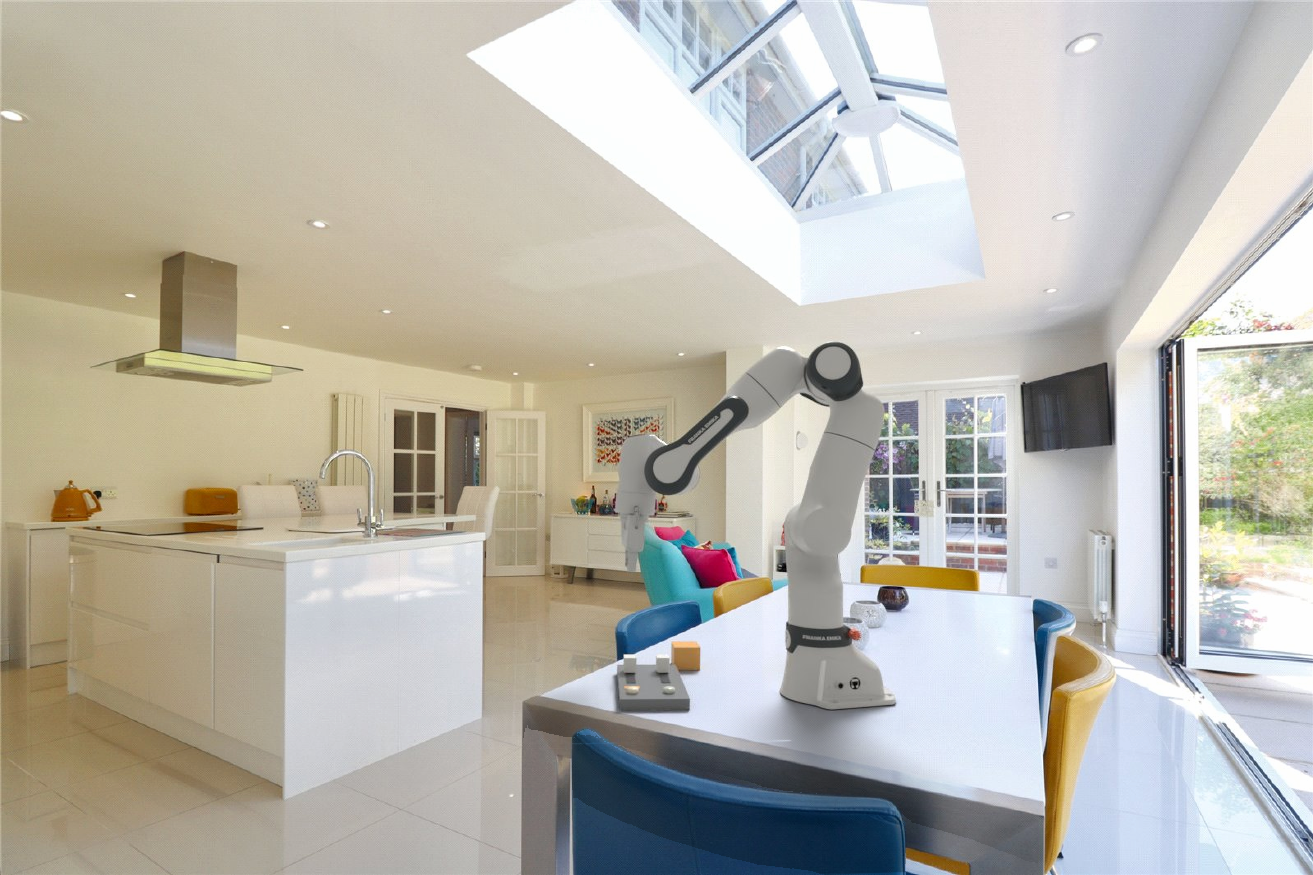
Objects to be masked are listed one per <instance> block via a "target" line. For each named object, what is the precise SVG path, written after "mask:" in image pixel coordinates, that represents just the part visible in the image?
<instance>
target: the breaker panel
mask: <svg viewBox="0 0 1313 875" xmlns="http://www.w3.org/2000/svg"><path fill="white" fill-rule="evenodd" d="M616 667H617V669H616V670H617V671H616V676H617V691H618V702H619V711H690V710H691V709H690V708H691V698H690V695H689V694H688V691H687V689H686V686H685V684H684V681H683V679H682V677H681V674H680V672H679V671H680V670H678V669H677V667H676V664H669V673H657V671H656V664H636V673H624V670H623V664H616Z"/></svg>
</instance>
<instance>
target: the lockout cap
mask: <svg viewBox="0 0 1313 875" xmlns="http://www.w3.org/2000/svg"><path fill="white" fill-rule="evenodd" d="M670 648H671V650H670V651H671V652H670V653H671V656H670V658H671V659H670V661H671V662H670V663H671V664H670V665H672V664H676V667H677V669H678V671H701V647H700V645H699V643H698V641H696V640H695V641H685V640H684V641H683V640H682V641H671V647H670Z"/></svg>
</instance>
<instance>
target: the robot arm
mask: <svg viewBox="0 0 1313 875" xmlns="http://www.w3.org/2000/svg"><path fill="white" fill-rule="evenodd" d="M860 363H861V362H860V360H859V358H858V355H857V353H856V352H855V350H854V349H853V348H852V347H851V346H849V345H848V344H846V343H844V342H840V341H827V342H823V343H822V344H820V345H818V346H816V348H814V349H813V351H812V352H811V353H810V355H809V356H808V357H805V356H802V355H801V354H800V353H799V352H798V351H796V350H795V349H793V348H791V347H788V346H779V347H776V348H775V349H773V350H771V351H769V352H768V353H766V354H765V355H764V356H763V357H761V358H760V359H758V360H757V361H756V362H755V363H754V364H752V366H750V367H749V368H748V369H747V370H746V371H745V372H744V373H743V374H742V375H740V377H738V379H737V380H736V381H734V383H733V384H732V385H731V386H730V388H728V390H727V392H726V393H725V394H724V395H723V396H722V397H721V399H720V400H719V401H718V402H717V404H716V405H715V406H714V407H713V408H712V409H711V410H710V411H709V412H708V413H707V414H706V415H705V416H704V417H703V418H701V419H700V420H699V421H698V422H697V423H696V424H695V425H693V426H692V427H691V428H690V429H689V430H688V431H687V432H686V433H685V434H683V436H681V437H680V438H678V439H677V440H676V441H673V442H671V443H669V444H667V443H666V442H664V441H663V440H661V439H660V438H659V437H658V436H657V435H655V434H653V433H639V434H634V435H630V436H627V438H625V440H623V443H622V445H621V446H622V447H621V449H620V454H619V455H620V456H619V462H618V470H617V472H618V479H619V480H618V481H619V482H618V485H617V488H616V493H615V506H614V512H615V513H616V514H620V515H619V521H620V523H621V525H620V526H621V527H620V528H621V529H620V531H621V532H620V533H621V544H622V545H623V547H624V555H625V557H624V558H625V560H624V561H625V562H624V566H625V567H626V569H627V572H628V573H635V572H636V571H637V564H638V563H637V562H638V560H639V559H638V558H639V553H642V552H643V551H644V547H645V534H646V533H645V532H646V524H647V523H649V516H655V514H656V513H655V509H656V500H657V498H656V496H657V494H659V495H661V496H674V495H675V496H676V495H678V496H679V495H685V494H687V493H690V492H691V491H692V490H693V489H695V488H696V487H697V485H698V483H699V482H700V478H701V470H700V466H699V464H700V462H702V461H703V460H704V459H705V458H706V457H707V456H708V455H709V454H711V452H713V451H714V449H716V448H717V447H718V446H719V445H720V444H722V443H723V441H725V440H727V438H729V437H730V436H731V435H733V434H735V433H737V432H739V431H744V430H749V429H755V428H756V427H758V426H760V425H762V424H763V423H764V422H767V420H769V419H770V418H772V417H773V416H774V415H775V414H776V413H777V412H778V411H779V410H780V409H782V407H783V406H784V405H785V404H786V403H787V402H788V401H790V400H791V399H792V398H793V397H795V396H796V395H798V394H799V395H800V396H801V397H803V398H805V399H808V400H810V401H811V402H813V403H815V404H817V405H820V406H823V407H826V408H829V417H828V421H827V424H826V426H825V428H824V431H823V433H822V436H821V439H820V441H819V444H818V446H817V449H816V451H815V453H814V457H813V459H812V462H811V464H810V467H809V472H808V476H807V481H806V484H805V489H804V492H803V495H802V499H801V502H800V503H798V504H796V505H794V506H793V507H791V509H789V511H788V512H787V513H786V515H785V519H784V523H783V530H784V532H783V534H784V551H785V554H784V555H785V565H786V576H787V621H786V622H785V632H784V635H785V636H784V637H785V638H784V643H785V649H786V656H785V657H786V658H785V666H784V672H783V677H782V681H781V684H780V688H779V693H780V695H782V696H783V697H785V698H787V699H789V700H792V701H795V702H798V703H803V704H807V705H812V706H817V707H820V708H822V709H827V710H841V709H853V708H855V709H856V708H863V707H864V708H866V707H878V706H879V707H880V706H889V705H895V704H896V702H897V701H896V696H895V693H894V692H893V691H891V690H890V689H889V688H887V687H886V686H884V681H883V676H882V673H881V669H880V668H879V666H878V665H877V663H876V662H874V661H873V660H872V659H871V658H870V657H869V656H867V655H866V654H865V653H864V652H863V651H862V650H861V649H859V648H857V646H855V645H854V644H853V641H856V642H857V641H860V640H861V639H862V633H861V632H860V631H859V630H857V629H855V628H850V627H848V626H847V625H845V624H844V585H843V581H842V576H841V570H840V563H839V557H838V555H839V554H840V553H842V552H843V551H845V549H846V548H848V545H849V544H850V541H851V538H852V528H853V525H854V520H855V518H856V512H857V509H858V505H859V504H858V503H859V499H860V493H861V490H862V488H863V484H864V481H865V480H866V479H865V478H866V476H867V473H868V470H869V468H870V465H871V463H872V460H873V458H874V454H875V452H876V449H877V447H878V443H879V440H880V437H881V434H882V429H883V425H884V419H885V412H886V411H885V407H884V404H883V402H882V401H881V400H880V399H879V398H878V397H877V396H875V395H874V394H872V393H869V392H866V391H865V390H863V389H862V388H863V387H864V380H863V375H862V369H861V364H860Z"/></svg>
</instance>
